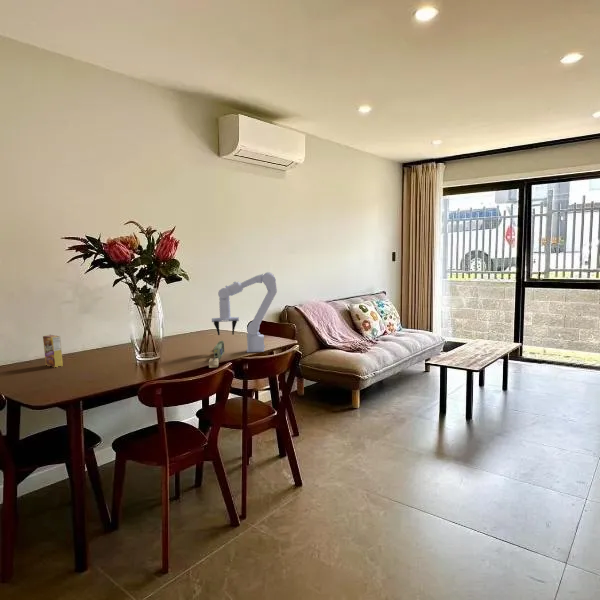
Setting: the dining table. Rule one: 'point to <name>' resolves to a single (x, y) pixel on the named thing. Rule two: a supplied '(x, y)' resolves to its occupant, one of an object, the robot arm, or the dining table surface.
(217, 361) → the taped cardboard parcel
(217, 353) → the handheld radio
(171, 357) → the dining table surface
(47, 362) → the candy box
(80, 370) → the dining table surface
